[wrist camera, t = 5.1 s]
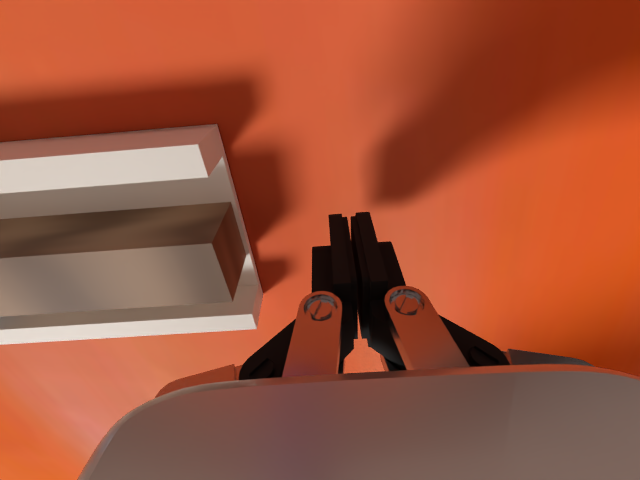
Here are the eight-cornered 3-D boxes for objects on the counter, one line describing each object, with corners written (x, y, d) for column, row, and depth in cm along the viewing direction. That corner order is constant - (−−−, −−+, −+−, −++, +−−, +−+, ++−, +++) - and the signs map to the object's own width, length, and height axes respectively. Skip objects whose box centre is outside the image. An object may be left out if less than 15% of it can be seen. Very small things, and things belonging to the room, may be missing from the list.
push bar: (231, 201, 14) (211, 243, 11) (246, 255, 16) (232, 301, 13) (-60, 223, 14) (-142, 268, 12) (-11, 273, 16) (-73, 321, 14)
